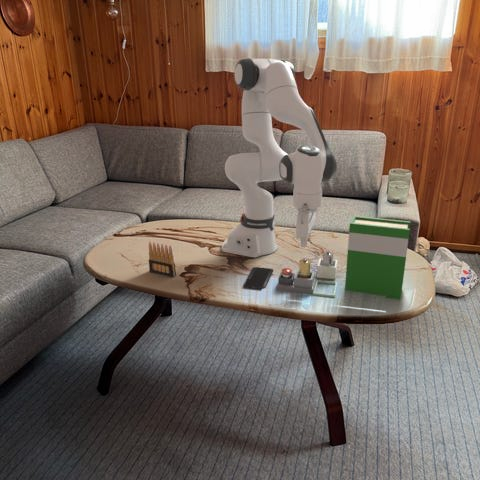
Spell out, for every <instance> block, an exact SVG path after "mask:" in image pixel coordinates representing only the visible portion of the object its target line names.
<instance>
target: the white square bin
mask: <svg viewBox="0 0 480 480" xmlns="http://www.w3.org/2000/svg"><path fill="white" fill-rule="evenodd" d="M322 263H323V258H321V257H319V261H318V264H317V271H316V272H317V274H316V279H328V280H336V277H337V272H338V259H333V267H331V266H322Z"/></svg>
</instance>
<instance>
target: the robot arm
mask: <svg viewBox="0 0 480 480" xmlns="http://www.w3.org/2000/svg"><path fill="white" fill-rule="evenodd" d="M233 75H234V76H233V77H234V82H235V85H236V86H237V87H238V88H239V89H240V90H243V92H242V96H241V97H242V99H241V128H242V136H243V138H244V139H245V140H246V141H247V142H250V143H252V144H253V145H256V146H257V147H258V148H259V151H258V152H243V153H242V152H241V153H237V154H233V155H229V156H228V158H227V159H226V161H225V164H224V174H225V175H226V177H227V178H228V180H229V181H231V182H232V183H233V184H235V185H236V186H237V187H238V188H239V190H240V191H241V193H242V196H243V201H244V212H242V214H241V216H240V218H239V224H237V225H236V226H235V227H233V228H232V229H231V230H230V231H229V232H228V235H227V238H226V239H225V240H224V242H223V243H222V244H221V251H222V252H223V253H229V254H233V255H239V256H244V257H248V258H249V257H250V258H258V257H260V256H266V255H270V254H272V253H274V252H276V251H277V249H278V246H277V241H276V237H275V223H276V222H275V221H276V219H275V215H274V197H273V194H272V193H271V192H269V191H267V190H266V189H264V188H261V187H260V186H259V185H258V183H260V182H276V181H282V180H283V181H284V182H285V183H287V184H293V191H292V193H293V195H292V196H293V197H292V205H293V207H295V208H296V211H297V216H296V227H295V228H296V229H295V230H296V231H295V236H296V238H299V239H300V247H301V248H307V247H308V238H309V237H311V236H312V228H313V226H314V223H315V220H316V218H317V214H318V209H319V208H321V207H322V201H323V187H322V182H324V183H328V182H329V181H330V180H331V179H332V178H333V177H334V176H335V174H336V173H337V170H338V169H337V168H338V163H337V159H336V158H335V156H334V153H333V152H332V151H331V148H330V146H329V145H328V142H327V140H326V138H325V135H324V133H323V132H324V131H323V129H322V127H321V125H320V123H319V121H318V118H317V116H316V114H315V112H314V109H313V108H311V107H310V106H308V105H307V104H306V103H305V102H304V100H303V99H302V97H301V96H300V94H299V90H298V85H297V82H296V80H295V79H296V70H295V68H294V65H293V64H292V63H291V62H290V61H288V60H284V59H281V60H279V59H275V58H249V57H248V58H243V59H240V60H239V61H238V62H237V64H236V65H235V68H234V74H233ZM272 118H274V119H275V120H276V121H279V122H281V123H284V124H288V125H291V126H293V127H296V128H298V129H300V130H302V131H303V132H304V133H305V135H306V137H307V140H308V143H309V145H301V146H298V147H297V148H296V149H295V151H294V152H291V153H287V152H285V151H284V150H283V149H282V148H281V147H280V145H279V144H278V143H277V141H276V139H275V136H274V131H273V123H272V122H273V121H272Z"/></svg>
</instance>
